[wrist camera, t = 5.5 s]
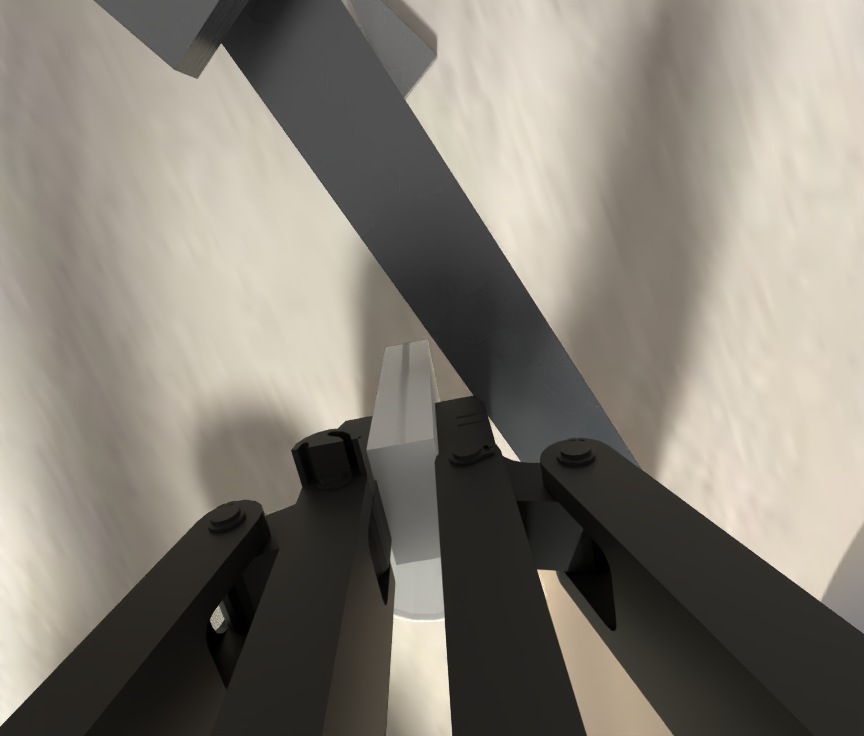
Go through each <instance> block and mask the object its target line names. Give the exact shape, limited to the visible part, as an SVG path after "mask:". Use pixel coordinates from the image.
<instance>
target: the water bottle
mask: <svg viewBox="0 0 864 736" xmlns="http://www.w3.org/2000/svg"><path fill="white" fill-rule="evenodd" d="M538 572H539V575H540V578H541V581H542V584H543V587H544V589H545V592H546V602H547V605H548V608H549V611H550V615H551V618H552V621H553V625H554V628H555V631H556V635H557V638H558V641H559V645H560V648H561V651H562V654H563V658H564V661H565V664H566V668H567V671H568V674H569V678H570V681H571V684H572V687H573V691H574V694H575V697H576V701H577V704H578V707H579V711H580V714H581V717H582V721H583V724H584V727H585V730H586V734H587V736H674V735H673V734H672V733H671V731H670V730H669V729H668V727H667V726H666V725H665V723H664V722H663V721H662V719H661V718H660V717H659V715H658V714H657V713H656V711H655V710H654V709H653V707H652V706H651V705H650V703H649V702H648V701H647V699H646V698H645V697H644V695H643V694H642V693H641V691H640V690H639V689H638V687H637V686H636V684H635V683H634V682H633V680H632V679H631V678H630V676H629V675H628V674H627V672H626V671H625V670H624V668H623V667H622V666H621V664H620V663H619V662H618V660H617V659H616V658H615V656H614V655H613V654H612V652H611V651H610V650H609V648H608V647H607V646H606V644H605V643H604V642H603V640H602V639H601V638H600V636H599V635H598V633H597V632H596V631H595V629H594V628H593V627H592V625H591V624H590V623H589V621H588V620H587V619H586V617H585V616H584V615H583V613H582V612H581V611H580V609H579V608H578V607H577V605H576V604H575V603H574V601H573V600H572V599H571V597H570V596H569V595H568V593H567V592H566V591H565V589H564V588H563V587H562V585H561V584H560V582H559V580H558V577H557V575H556V571H552V570H538Z"/></svg>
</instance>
